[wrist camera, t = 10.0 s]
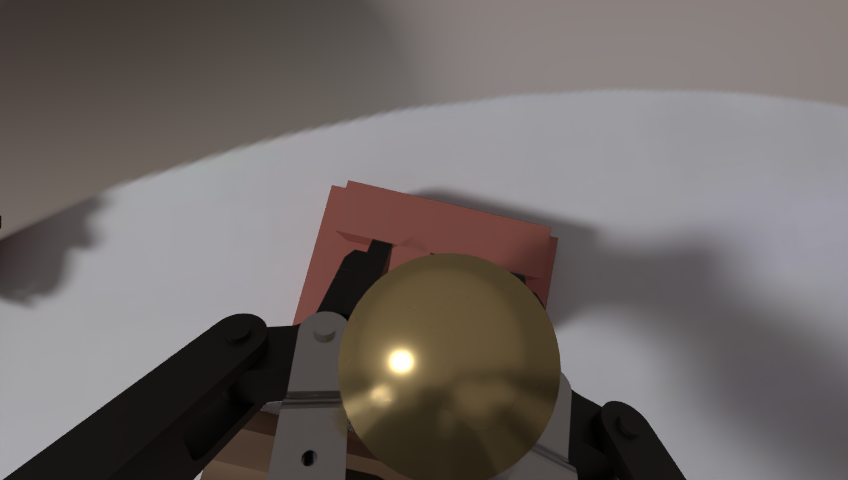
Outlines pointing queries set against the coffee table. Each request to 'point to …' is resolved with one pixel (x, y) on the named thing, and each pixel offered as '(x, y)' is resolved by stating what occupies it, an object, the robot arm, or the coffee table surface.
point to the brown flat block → (252, 449)
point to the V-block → (421, 238)
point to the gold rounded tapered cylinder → (449, 368)
